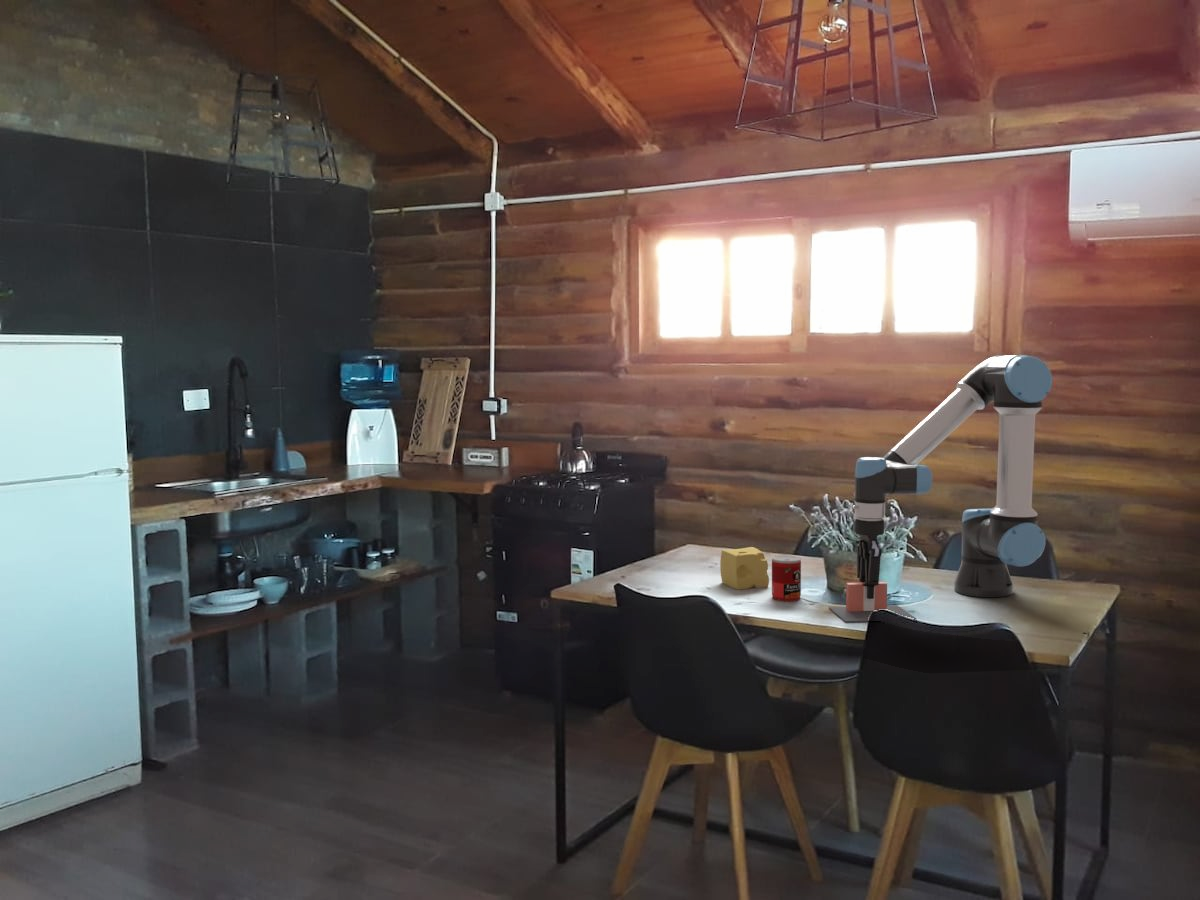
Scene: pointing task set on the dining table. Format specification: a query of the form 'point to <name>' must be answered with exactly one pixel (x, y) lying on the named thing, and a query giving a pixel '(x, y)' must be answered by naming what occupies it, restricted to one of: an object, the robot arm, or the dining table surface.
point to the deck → (856, 596)
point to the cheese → (744, 568)
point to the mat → (863, 613)
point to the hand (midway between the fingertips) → (866, 609)
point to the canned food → (786, 578)
